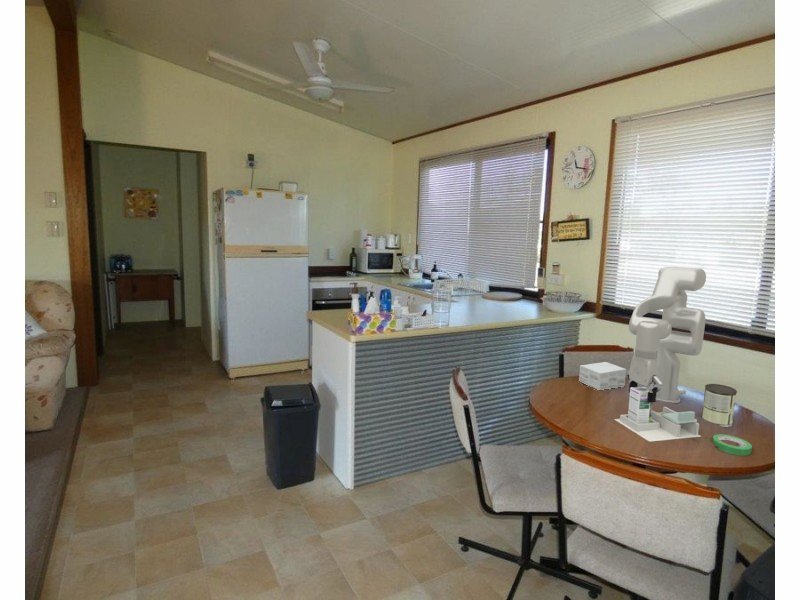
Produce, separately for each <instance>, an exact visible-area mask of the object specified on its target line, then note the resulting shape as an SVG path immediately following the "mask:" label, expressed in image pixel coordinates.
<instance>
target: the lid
mask: <svg viewBox="0 0 800 600" xmlns="http://www.w3.org/2000/svg"><path fill="white" fill-rule="evenodd" d="M675 412H676V411H675ZM695 415H696V412H695V411H693V410H690V411H688V410H687V411H678V412H676V413H664V414H662V416H663V417H665V418H667V419H669V420H671V421H673V422H675V423H677V424H680V423H691V422H697V423H698V419H696V418H695Z"/></svg>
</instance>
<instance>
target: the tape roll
mask: <svg viewBox="0 0 800 600" xmlns="http://www.w3.org/2000/svg"><path fill="white" fill-rule="evenodd" d="M711 440H712V443H713V444H714V445H715V448H716V449H718V450H720V451H722V452H724V453H727V454H730V455H737V456H750V455H751V454H752V449H753V448H752V447H753V445H752V444H751V443H750V442H749V441H747V440H745V439H743V438H740V437H737V436H734V435H730V434H724V433H723V434H722V433H721V434H720V433H718V434H714V435H713V436H712V439H711ZM723 441H732V442H734V443H737V444H735V445H731V444H729V443H725V442H723Z"/></svg>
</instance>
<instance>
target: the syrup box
mask: <svg viewBox="0 0 800 600" xmlns="http://www.w3.org/2000/svg"><path fill="white" fill-rule="evenodd" d="M648 392H650V391H649V389H648V387H647V386H637V387H631V388H630V393H629V399H628V400H629V401H628V411H627V414H628V418H629V419H631V420H632V421H634V422H636V423H637V424H643V423H651V412H652V410H653V402H651V403H648V402H647V397H648Z"/></svg>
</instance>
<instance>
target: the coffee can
mask: <svg viewBox="0 0 800 600" xmlns="http://www.w3.org/2000/svg"><path fill="white" fill-rule="evenodd" d="M737 394H738V391H737V389H736V388H733V387H731V386H728V385H725V384H718V383H707V384H705V385H704V396H703V403H702V412H701V413H702V414H701V418H702V419H703V420H705V421H707V422H710V423H713V424H716V425H717V426H719V427H721V428H730V427H732V426H733V423H734V422H733V421H734V420H733V419H734V415H735V414H734V413H735V412H734V411H735V407H736V406H735V404H736V398H737Z"/></svg>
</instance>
